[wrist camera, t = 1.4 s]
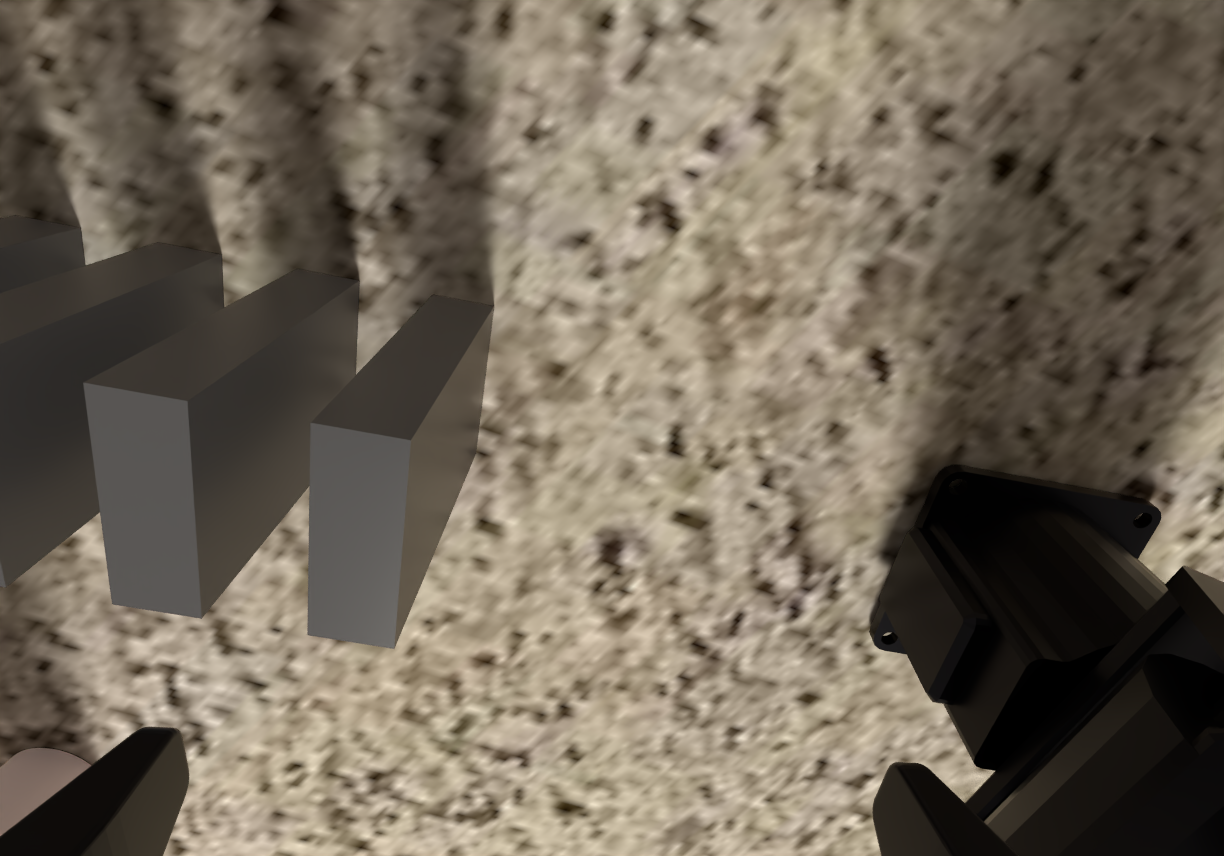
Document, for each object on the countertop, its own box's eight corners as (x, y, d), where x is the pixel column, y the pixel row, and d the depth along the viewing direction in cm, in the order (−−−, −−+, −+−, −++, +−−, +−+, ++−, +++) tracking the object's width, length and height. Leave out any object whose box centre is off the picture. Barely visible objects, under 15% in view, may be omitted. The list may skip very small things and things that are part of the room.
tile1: (494, 306, 19) (410, 440, 12) (475, 453, 21) (393, 648, 13) (433, 294, 19) (311, 422, 11) (420, 443, 21) (307, 635, 13)
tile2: (359, 280, 19) (187, 401, 11) (353, 431, 20) (201, 618, 13) (296, 268, 19) (82, 382, 11) (296, 421, 20) (112, 604, 13)
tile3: (221, 254, 18) (-41, 360, 11) (228, 409, 20) (5, 587, 13) (157, 242, 18) (-151, 341, 11) (169, 399, 20) (-87, 573, 13)
